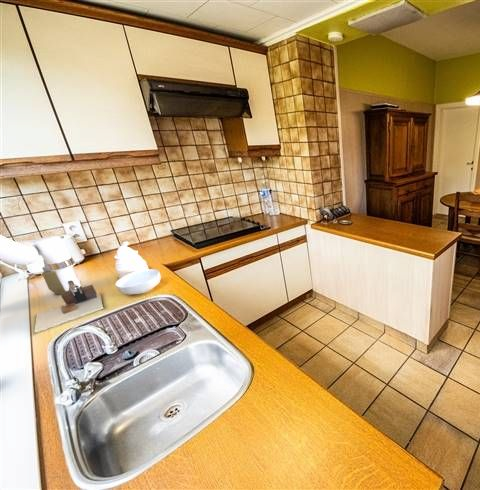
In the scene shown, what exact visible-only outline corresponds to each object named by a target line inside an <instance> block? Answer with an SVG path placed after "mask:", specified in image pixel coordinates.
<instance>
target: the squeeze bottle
mask: <svg viewBox="0 0 480 490" xmlns="http://www.w3.org/2000/svg"><path fill="white" fill-rule="evenodd" d="M43 264H44V265H43V266H42V268H41V269H42V271H43V272H42V274H41V275H42V277H43V279H44V282H45V283H46V286H47V288H48V290H49V291H51V292H52V293H53V294H55V295H62V294H63V293H66V292H70V291H71V290H70V288H69V290H68V291H65V290H64V288H63V286H62V284H61V282H60V280H59V279H58V277H57V275H56V272H55V271H51V270H50V268H49V267H48V265H47V264H46V262H45V260H44V259H43Z"/></svg>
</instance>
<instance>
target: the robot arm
mask: <svg viewBox="0 0 480 490" xmlns="http://www.w3.org/2000/svg"><path fill="white" fill-rule="evenodd" d="M39 256H41V257H42V259H43V261H44V260H45V262H46V264H47V265H48V267H49V268H50V270H51V271H55V272H56V275H57V277H58V279H59V280H60V282H61V284H62V286H63V288H64V290H65V291H68V290H69V288H70V290H71V291H72V293H73V296H74V297H75V299H76V301H77V302H78V303H79V302H82V301H85V300H87V298H86V296H85V294H84V292H82V291H81V289H80V288H83V287H82V284H81V280H80V277H79V275H78V272H77V271H76V269H75V267H74V266H75V265H76V262H75V260H74V258H73V256H72V255H71V252H70V251H69V249H68V247H67V245H66V244H65V242H64V240H63V238H62V237H61V236H59V235H48V236H44V237H40V238H35V239H29V240H19V241H14V240H12V239H10V238H8V237H6V236H4V235H1V234H0V261H3V262H5V263H9V264H13V265H16V266H27V265H31V264H33V263H35V262H36V261H37V260H38V258H39ZM77 289H79V290H77Z"/></svg>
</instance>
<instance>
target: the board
mask: <svg viewBox="0 0 480 490" xmlns="http://www.w3.org/2000/svg"><path fill="white" fill-rule="evenodd" d="M96 295H97V297H96V298H93V299H90V300H87V301H84V302H81V303H78V304H76V306H77V310H74V311H71V312H68V313H65V314H63V312H62V311H61V307H62V306H65V305H68V304H66V303H64V304H62V305H59V306H55V307H52V308H49V309H46V310H43V311H40V312H38V313H36V319H35V324H34V333H35V334H38V333H39V332H43V331H45V330H48V329H51V328H54V327H56V326H60V325H61V324H65V323H67V322H70V321H73V320H75V319H78V318H79V319H80V318H82V317H84V316H87V315H89V314H92V313H96V312H98V311H101V310H103V309H105V308H104V304H103V300H102V296H101V293H100V292H98V293H97V294H96Z"/></svg>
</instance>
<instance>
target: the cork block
mask: <svg viewBox="0 0 480 490" xmlns="http://www.w3.org/2000/svg"><path fill="white" fill-rule="evenodd" d="M74 310H77V306H76V304H75V303H71V304H68V305H65V306H62V307H61V311H62V312H63V314H65V313H68V312H71V311H74Z"/></svg>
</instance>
